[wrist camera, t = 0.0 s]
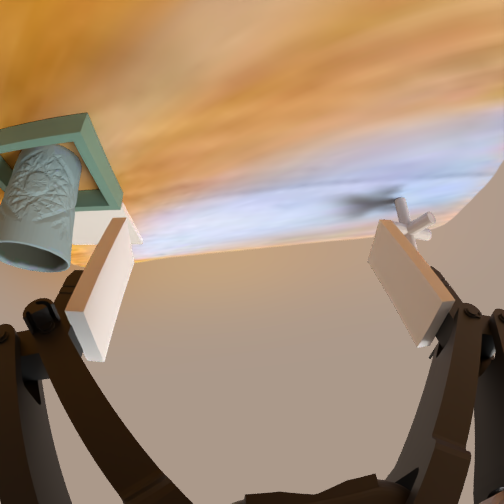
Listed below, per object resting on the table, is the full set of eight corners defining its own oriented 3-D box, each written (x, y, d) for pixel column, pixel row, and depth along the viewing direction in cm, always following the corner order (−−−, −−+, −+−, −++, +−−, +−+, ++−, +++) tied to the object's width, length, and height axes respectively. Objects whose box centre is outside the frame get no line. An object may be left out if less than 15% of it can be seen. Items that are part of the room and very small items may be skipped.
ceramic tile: (40, 205, 40) (39, 210, 39) (122, 201, 41) (121, 206, 41) (74, 240, 53) (73, 244, 52) (143, 239, 54) (142, 244, 54)
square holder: (-23, 135, 23) (-31, 153, 22) (87, 112, 25) (80, 132, 24) (30, 199, 37) (26, 214, 37) (123, 193, 39) (120, 209, 38)
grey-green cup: (51, 126, 25) (17, 235, 21) (105, 173, 35) (88, 269, 30) (1, 156, 28) (-27, 250, 24) (52, 192, 37) (35, 276, 33)
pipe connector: (355, 209, 46) (366, 272, 43) (399, 176, 37) (417, 248, 34) (400, 218, 50) (411, 275, 46) (442, 192, 41) (459, 255, 37)
